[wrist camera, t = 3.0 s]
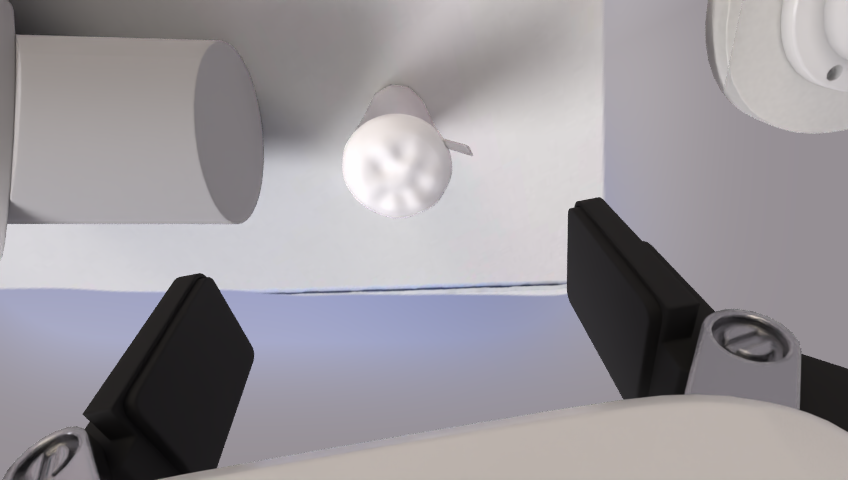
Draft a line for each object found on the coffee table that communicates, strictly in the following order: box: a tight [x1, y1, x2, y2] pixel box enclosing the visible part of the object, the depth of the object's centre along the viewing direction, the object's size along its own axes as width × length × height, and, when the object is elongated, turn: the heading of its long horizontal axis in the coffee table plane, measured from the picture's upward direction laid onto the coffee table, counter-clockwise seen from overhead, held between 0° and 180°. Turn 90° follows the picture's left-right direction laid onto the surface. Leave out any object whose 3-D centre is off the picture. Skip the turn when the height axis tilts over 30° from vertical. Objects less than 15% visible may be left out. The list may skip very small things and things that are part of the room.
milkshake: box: [343, 84, 473, 218], centre depth 20 cm, size 5×5×10 cm
